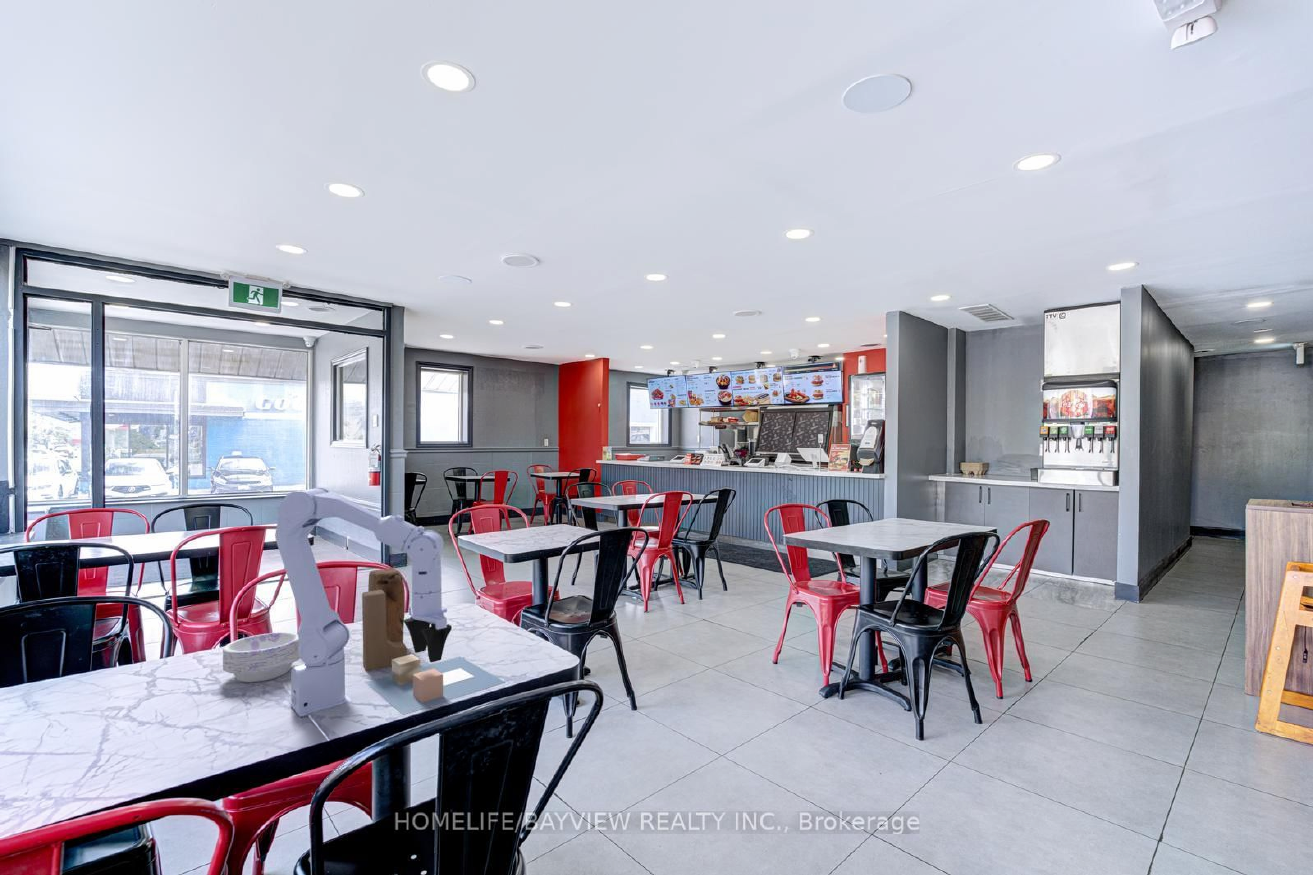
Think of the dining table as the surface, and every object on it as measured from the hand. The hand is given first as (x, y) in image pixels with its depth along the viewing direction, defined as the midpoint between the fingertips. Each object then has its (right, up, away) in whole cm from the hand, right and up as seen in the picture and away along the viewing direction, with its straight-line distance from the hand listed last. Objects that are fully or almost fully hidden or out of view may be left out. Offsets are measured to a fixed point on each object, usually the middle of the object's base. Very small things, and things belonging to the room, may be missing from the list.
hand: (427, 656), depth 126 cm
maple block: (-8, -8, +9) cm, 15 cm away
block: (-22, -9, +31) cm, 39 cm away
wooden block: (-17, -9, +18) cm, 27 cm away
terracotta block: (0, -8, 0) cm, 8 cm away
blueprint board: (-1, -9, +7) cm, 11 cm away
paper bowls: (-43, -10, +14) cm, 47 cm away
